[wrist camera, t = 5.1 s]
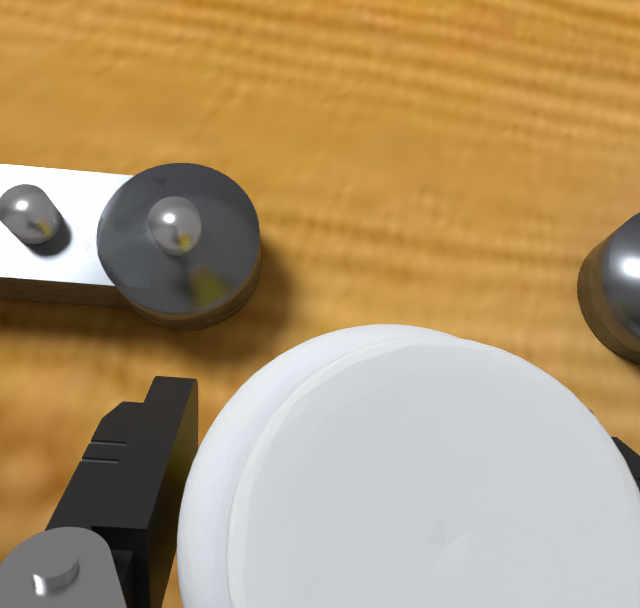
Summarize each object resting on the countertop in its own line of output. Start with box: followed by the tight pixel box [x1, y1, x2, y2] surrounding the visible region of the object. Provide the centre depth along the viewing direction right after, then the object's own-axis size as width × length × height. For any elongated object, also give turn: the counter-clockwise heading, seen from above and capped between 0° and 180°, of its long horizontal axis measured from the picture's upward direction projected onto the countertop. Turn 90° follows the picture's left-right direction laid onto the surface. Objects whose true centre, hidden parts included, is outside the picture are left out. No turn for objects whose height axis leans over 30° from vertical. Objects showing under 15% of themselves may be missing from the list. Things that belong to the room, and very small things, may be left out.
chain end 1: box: [0, 163, 261, 331], centre depth 16 cm, size 10×4×3 cm, turn 86°
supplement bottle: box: [177, 324, 640, 608], centre depth 10 cm, size 6×6×10 cm
